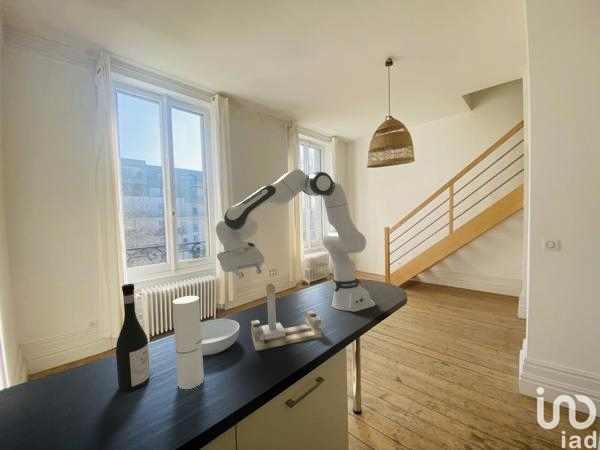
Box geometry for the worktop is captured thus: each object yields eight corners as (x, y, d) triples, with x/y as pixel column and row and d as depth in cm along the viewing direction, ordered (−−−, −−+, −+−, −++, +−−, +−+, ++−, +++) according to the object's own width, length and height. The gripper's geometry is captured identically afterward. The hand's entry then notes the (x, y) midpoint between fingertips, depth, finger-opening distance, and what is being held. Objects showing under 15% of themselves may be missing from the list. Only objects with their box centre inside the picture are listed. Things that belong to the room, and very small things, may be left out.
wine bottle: (156, 375, 81) (149, 281, 80) (137, 392, 73) (130, 288, 72) (132, 374, 82) (125, 281, 81) (111, 392, 74) (103, 288, 73)
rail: (312, 326, 111) (311, 309, 111) (321, 336, 102) (321, 318, 102) (251, 338, 103) (250, 320, 103) (255, 350, 93) (254, 330, 93)
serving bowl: (223, 330, 112) (222, 314, 111) (251, 346, 97) (250, 328, 97) (173, 349, 97) (171, 331, 97) (196, 371, 82) (194, 350, 82)
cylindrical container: (208, 376, 79) (204, 296, 78) (192, 392, 73) (186, 304, 71) (190, 372, 82) (185, 295, 81) (172, 387, 75) (166, 302, 74)
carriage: (280, 327, 106) (277, 280, 105) (285, 335, 98) (283, 285, 97) (260, 331, 103) (258, 282, 102) (264, 340, 95) (262, 287, 94)
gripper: (218, 248, 105) (232, 275, 99) (257, 243, 120) (272, 266, 114) (212, 257, 108) (226, 284, 102) (252, 252, 123) (266, 275, 117)
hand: (251, 275), depth 108 cm, fingers open, 8 cm apart
